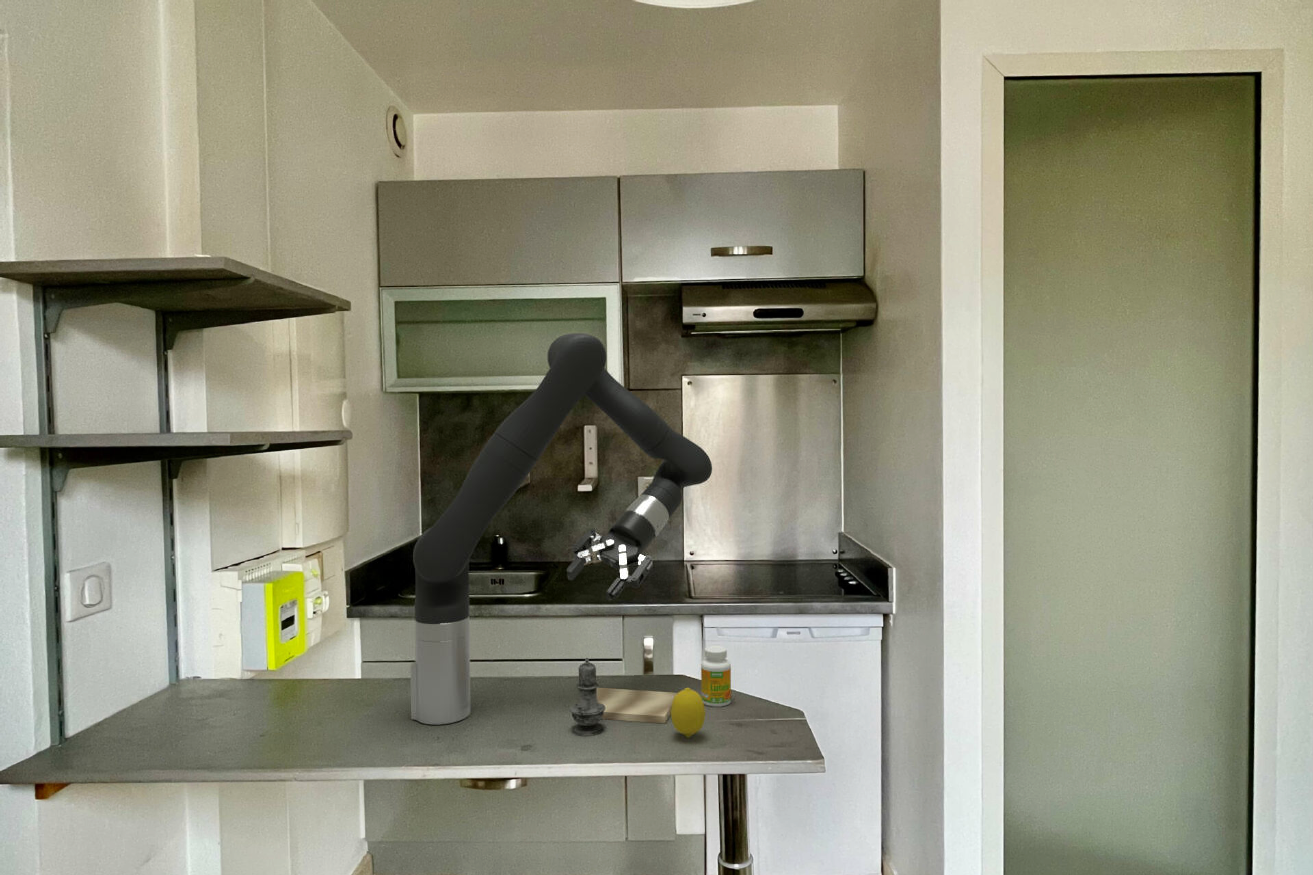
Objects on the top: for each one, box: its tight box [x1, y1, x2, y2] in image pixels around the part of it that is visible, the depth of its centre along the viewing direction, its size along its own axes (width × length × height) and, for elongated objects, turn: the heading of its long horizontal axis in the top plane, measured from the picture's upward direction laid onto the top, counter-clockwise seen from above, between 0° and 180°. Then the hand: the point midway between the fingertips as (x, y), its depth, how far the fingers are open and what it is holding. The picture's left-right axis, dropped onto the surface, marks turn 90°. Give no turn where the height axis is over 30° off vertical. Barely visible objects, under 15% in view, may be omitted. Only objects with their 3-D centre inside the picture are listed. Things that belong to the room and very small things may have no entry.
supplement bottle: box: [700, 645, 732, 708], centre depth 139 cm, size 5×5×10 cm
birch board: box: [597, 687, 679, 724], centre depth 137 cm, size 16×12×1 cm
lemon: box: [670, 687, 706, 738], centre depth 123 cm, size 6×6×8 cm
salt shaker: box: [569, 657, 605, 737], centre depth 127 cm, size 6×6×12 cm
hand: (588, 587), depth 133 cm, fingers open, 8 cm apart
